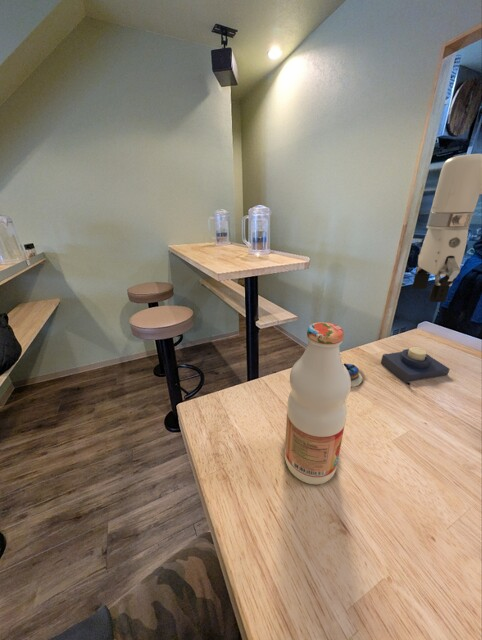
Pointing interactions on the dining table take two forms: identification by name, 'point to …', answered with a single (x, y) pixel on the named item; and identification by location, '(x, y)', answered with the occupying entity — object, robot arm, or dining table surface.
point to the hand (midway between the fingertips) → (426, 294)
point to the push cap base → (413, 367)
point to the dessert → (353, 374)
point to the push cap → (417, 353)
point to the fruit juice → (317, 406)
